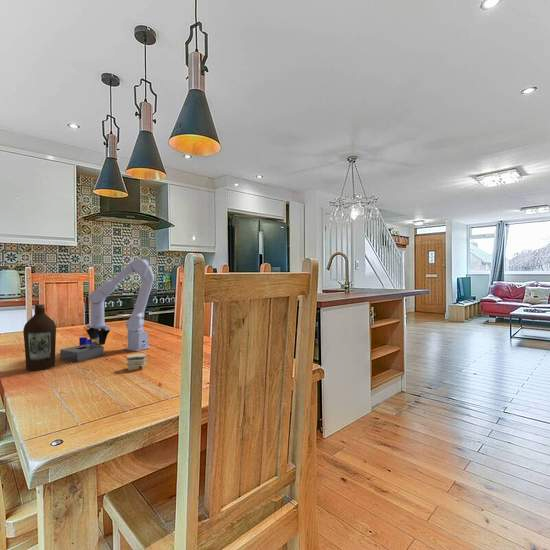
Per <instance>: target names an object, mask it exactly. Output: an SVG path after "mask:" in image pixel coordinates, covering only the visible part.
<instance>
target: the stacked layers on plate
mask: <svg viewBox="0 0 550 550" xmlns="http://www.w3.org/2000/svg"><path fill="white" fill-rule="evenodd" d="M147 355H148V354H146V353H144V352H137V353H132V354H126V357H127V358H126V359H125V360H126V361H127V363H126V366H127V369H128V371H135V370H139V369H140V368H143V367H144V366H146V365H147V364H148V363H147V359H148V357H146V356H147Z"/></svg>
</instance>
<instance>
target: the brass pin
mask: <svg viewBox="0 0 550 550" xmlns="http://www.w3.org/2000/svg"><path fill="white" fill-rule="evenodd" d="M91 341H92V344H95V345H97V346H102V345H100V343H99V338H93V339H91Z"/></svg>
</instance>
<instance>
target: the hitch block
mask: <svg viewBox="0 0 550 550" xmlns="http://www.w3.org/2000/svg"><path fill="white" fill-rule="evenodd" d="M59 352H60V354H59V355H60V356H59V357H60V360H65V361H71V362H76V363H79V362H83V361H87V360H90V359H95V358H99V357H103V356H104V355H105V353H104V346H103V345H101V346H97V345H91V344H84V345H75V346H71V347H66V348H61V349H60V350H59Z"/></svg>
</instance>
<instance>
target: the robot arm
mask: <svg viewBox="0 0 550 550" xmlns="http://www.w3.org/2000/svg"><path fill="white" fill-rule="evenodd" d="M134 273H137V274H138V275H139V276H140V279H142V280H141V284H140V287H139V291H138V294H137V297H136V302H135V305H134V307H133V311H132V313H131V314H130V318H128V320H127V321H125V322H126V324H125V326H126V329H127V347H123V350H126V351H133V352H139V351H143V350H146V349H150V348H151V346H149V345H150V344H149V334H148V333H147V332H146V331H144V327H143V326H144V324H145V312H146V308H147V304H148V300H149V297H150V295H151V294H150V293H151V290H152V287H153V284H154V281H155V275H154V272H153V268H152V265H151V263H150V262H149V261H148V259H144V258H142V259H141V258H136V259H133V261H132V262H130V263H128V264H127V265H126V266H125V267H123V269H122V270H121V271H120V272H118V274H116V275H115V277H113V278H112V279H107V280H104V281H103V283H102V284H101V285H100V286H98V287H96V288H95V290H93V291H91V292H90V294H89V295H88V301H89V302H90V323H87V324H86V330H85V331H86V333H87V334H88V337H89V339H90V340H91V339H93V338H97V335H98V336H99V343H100V345H101V346H103V345H106V340H107V337H108V335H109V334H110V332H111V330H110V329H111V328H110V325H107V324H105V301H106V299H107V297H109V296H110V295H111V294H112V293H114V292H115V290H117V289H118V284H119V283H121V282H122V281H123V280H125V279H126V278H127V277H129V276H130V275H131V274H134ZM91 343H92V341H91Z"/></svg>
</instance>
